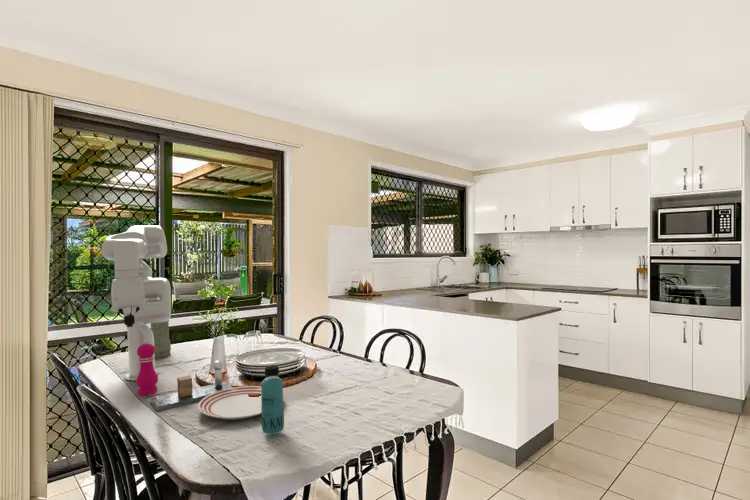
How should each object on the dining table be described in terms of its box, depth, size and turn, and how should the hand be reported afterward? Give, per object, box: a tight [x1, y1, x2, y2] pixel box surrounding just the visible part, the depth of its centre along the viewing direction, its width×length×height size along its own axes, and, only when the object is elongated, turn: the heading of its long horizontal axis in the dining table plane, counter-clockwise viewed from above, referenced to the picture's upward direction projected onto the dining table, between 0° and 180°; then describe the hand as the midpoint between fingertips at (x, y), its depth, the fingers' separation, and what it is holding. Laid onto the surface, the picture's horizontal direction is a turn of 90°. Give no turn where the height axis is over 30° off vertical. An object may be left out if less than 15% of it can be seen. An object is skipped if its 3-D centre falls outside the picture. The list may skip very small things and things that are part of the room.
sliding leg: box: [176, 375, 193, 397], centre depth 154 cm, size 4×4×6 cm
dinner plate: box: [197, 385, 262, 421], centre depth 145 cm, size 27×27×3 cm
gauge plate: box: [150, 360, 234, 412], centre depth 155 cm, size 10×26×12 cm, turn 128°
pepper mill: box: [136, 340, 159, 396], centre depth 161 cm, size 7×7×20 cm
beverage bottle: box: [260, 365, 285, 435], centre depth 125 cm, size 6×7×20 cm
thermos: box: [146, 300, 172, 359], centre depth 211 cm, size 9×12×35 cm
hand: (129, 326), depth 152 cm, fingers closed
